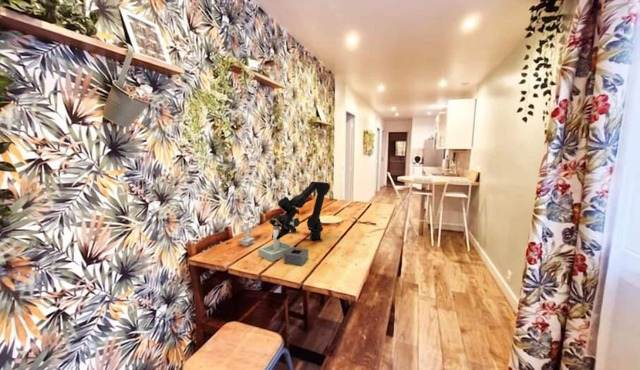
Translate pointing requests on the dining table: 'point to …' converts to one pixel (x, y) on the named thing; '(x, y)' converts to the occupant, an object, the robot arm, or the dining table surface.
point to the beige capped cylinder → (275, 242)
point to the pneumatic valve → (295, 222)
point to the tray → (274, 251)
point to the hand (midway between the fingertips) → (274, 238)
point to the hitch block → (296, 256)
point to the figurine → (246, 234)
